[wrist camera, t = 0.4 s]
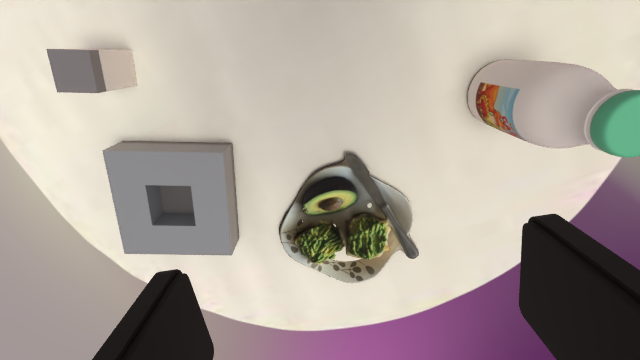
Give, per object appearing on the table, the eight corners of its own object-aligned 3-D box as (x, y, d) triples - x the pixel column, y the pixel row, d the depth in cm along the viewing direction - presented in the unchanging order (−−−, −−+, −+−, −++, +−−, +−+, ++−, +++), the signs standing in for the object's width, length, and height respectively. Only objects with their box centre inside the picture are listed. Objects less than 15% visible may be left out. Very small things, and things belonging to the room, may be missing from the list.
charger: (97, 49, 40) (46, 49, 32) (131, 50, 40) (88, 50, 32) (104, 84, 41) (57, 92, 34) (137, 85, 41) (97, 93, 34)
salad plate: (448, 206, 48) (461, 222, 43) (377, 295, 53) (382, 317, 49) (330, 137, 44) (332, 147, 40) (267, 240, 50) (262, 259, 45)
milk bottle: (477, 54, 40) (614, 58, 22) (538, 65, 41) (725, 77, 22) (457, 118, 43) (564, 171, 24) (515, 128, 43) (664, 187, 25)
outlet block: (123, 141, 44) (102, 150, 40) (232, 143, 44) (223, 152, 40) (141, 236, 49) (124, 253, 45) (239, 237, 49) (231, 255, 45)
